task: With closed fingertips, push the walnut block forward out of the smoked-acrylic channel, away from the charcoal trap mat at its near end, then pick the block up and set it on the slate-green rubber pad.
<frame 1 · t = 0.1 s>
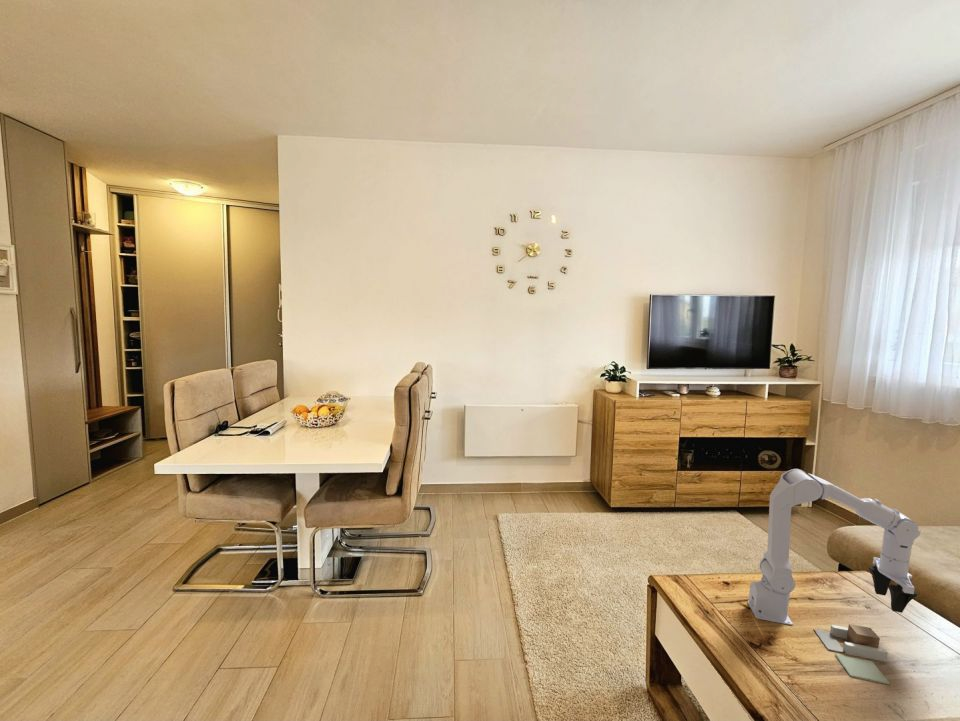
hand: (888, 602, 121), 10 cm above the table, fingers open, 7 cm apart
pad: (861, 669, 109), on the table
block: (861, 648, 117), on the table
channel: (857, 646, 117), on the table
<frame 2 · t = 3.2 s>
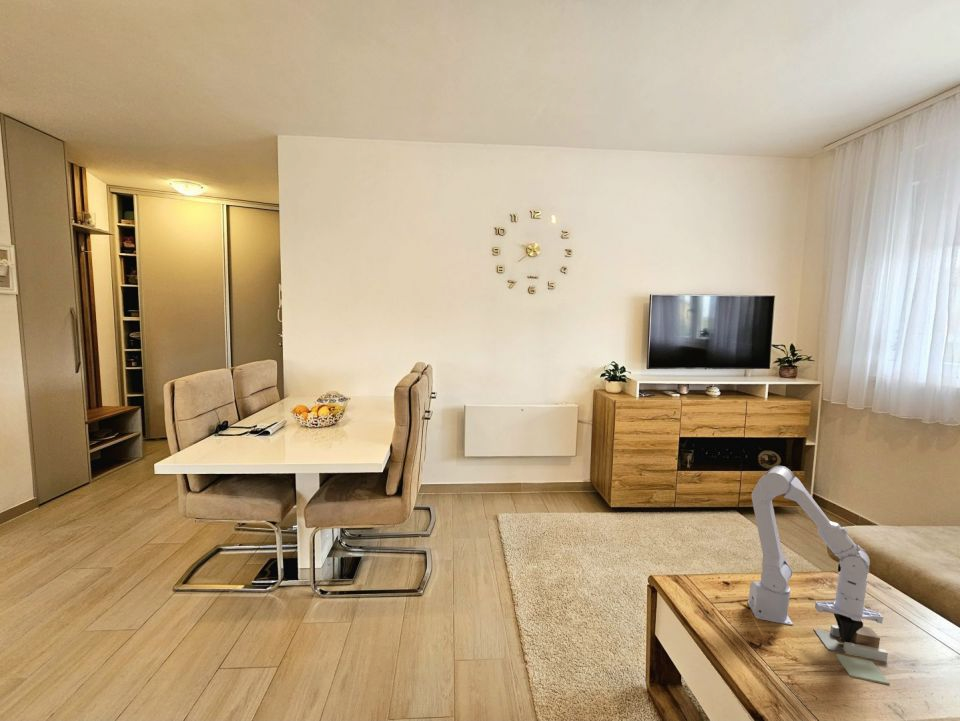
hand: (844, 640, 117), 1 cm above the table, fingers closed
block: (861, 647, 117), on the table, touching gripper
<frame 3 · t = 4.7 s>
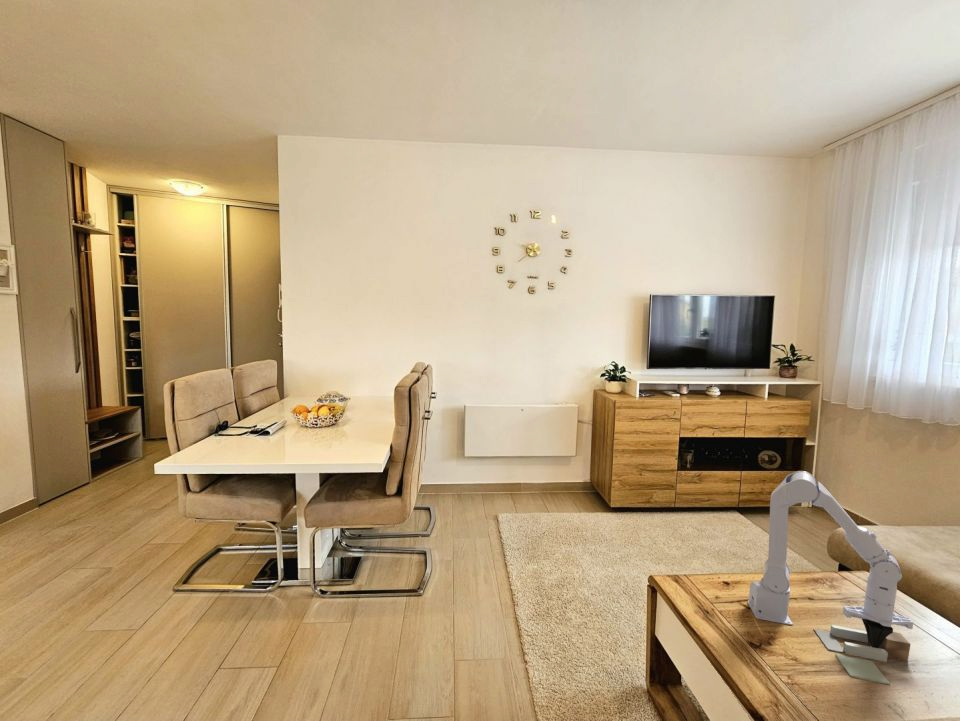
hand: (873, 646, 116), 1 cm above the table, fingers closed
block: (891, 653, 115), on the table, touching gripper
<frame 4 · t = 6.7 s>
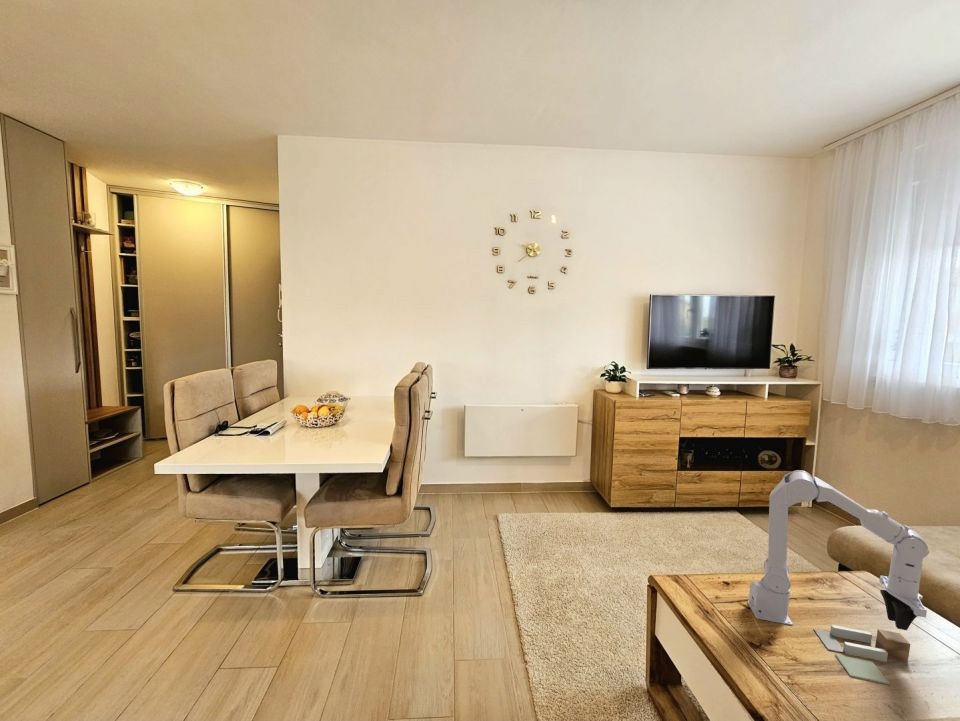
hand: (897, 624, 114), 8 cm above the table, fingers open, 3 cm apart
block: (891, 653, 115), on the table
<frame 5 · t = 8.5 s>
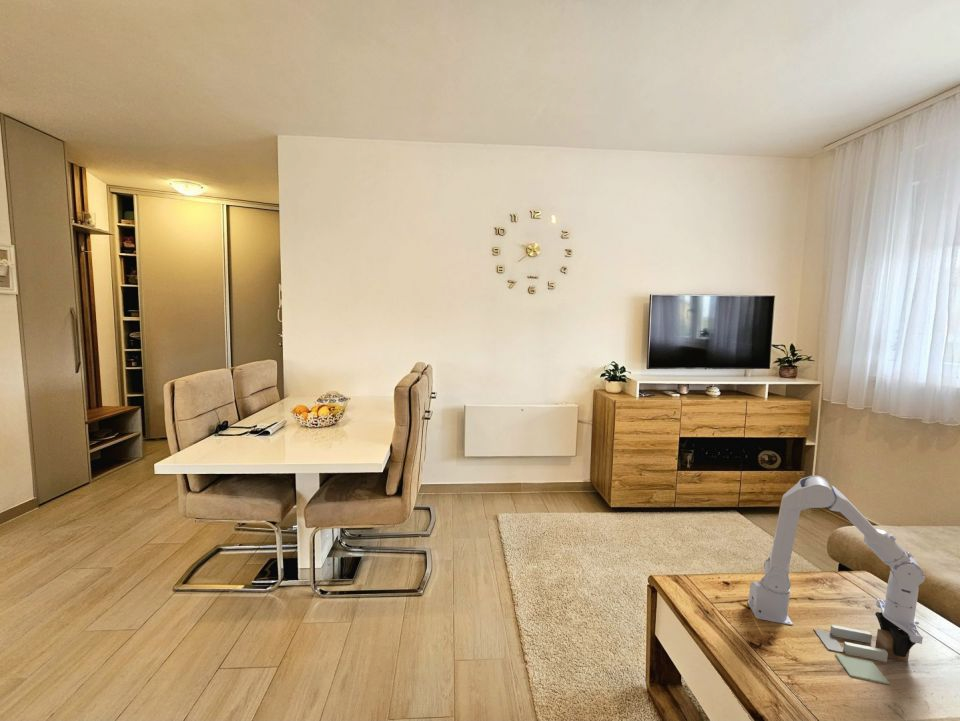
hand: (893, 649, 115), 1 cm above the table, fingers closed on block, 4 cm apart
block: (891, 653, 115), on the table, touching gripper
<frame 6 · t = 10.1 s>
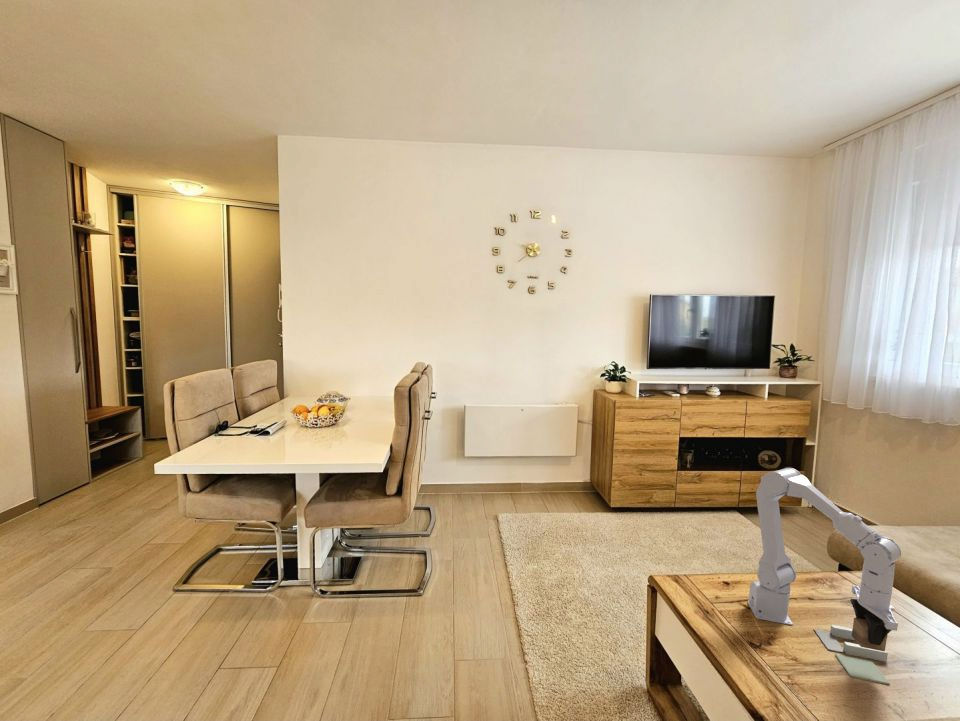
hand: (868, 637, 109), 8 cm above the table, fingers closed on block, 4 cm apart
block: (867, 643, 109), point 7 cm above the table, touching gripper
when the fingers open (3 cm above the table, at t = 11.6 s): block drops 1 cm, resting on pad.
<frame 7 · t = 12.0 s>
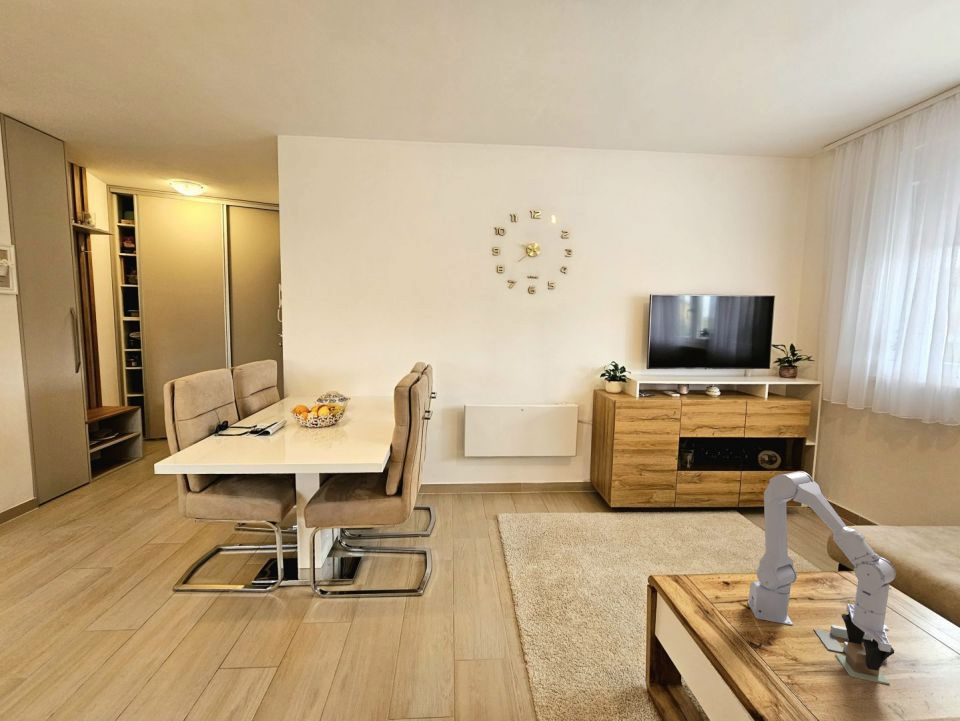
hand: (863, 657, 109), 3 cm above the table, fingers open, 7 cm apart
block: (861, 668, 109), resting on pad
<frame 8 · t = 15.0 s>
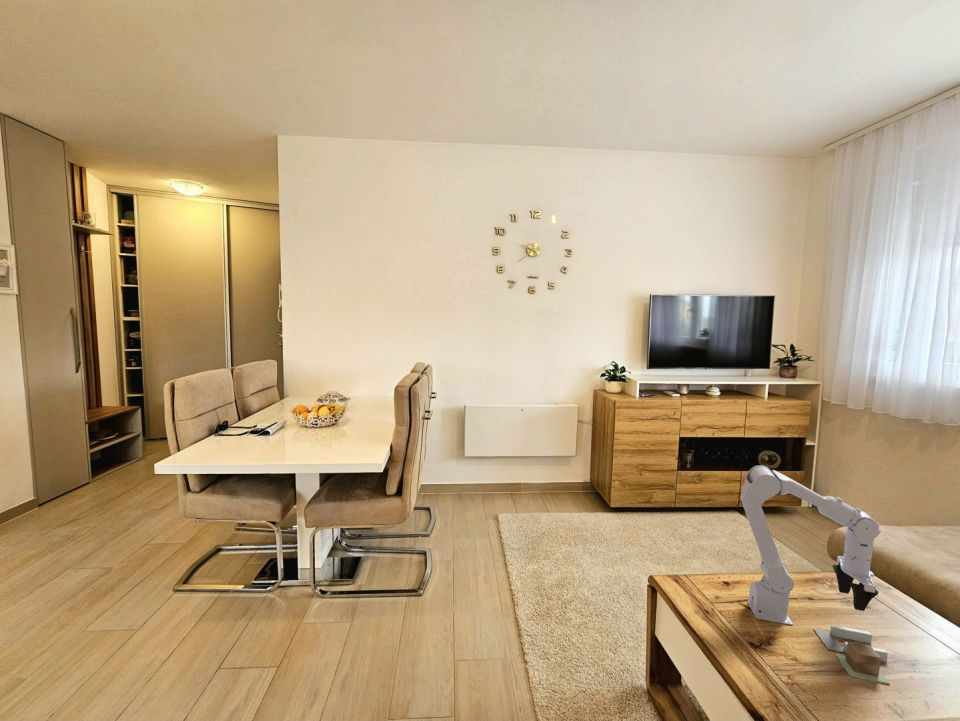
hand: (851, 600, 121), 9 cm above the table, fingers open, 7 cm apart
nothing on the table moved.
at the end: block inside the target area on the pad (0.0 cm from its centre), point 0.4 cm above the pad's base; block tilted 0°; the gripper is holding nothing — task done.
